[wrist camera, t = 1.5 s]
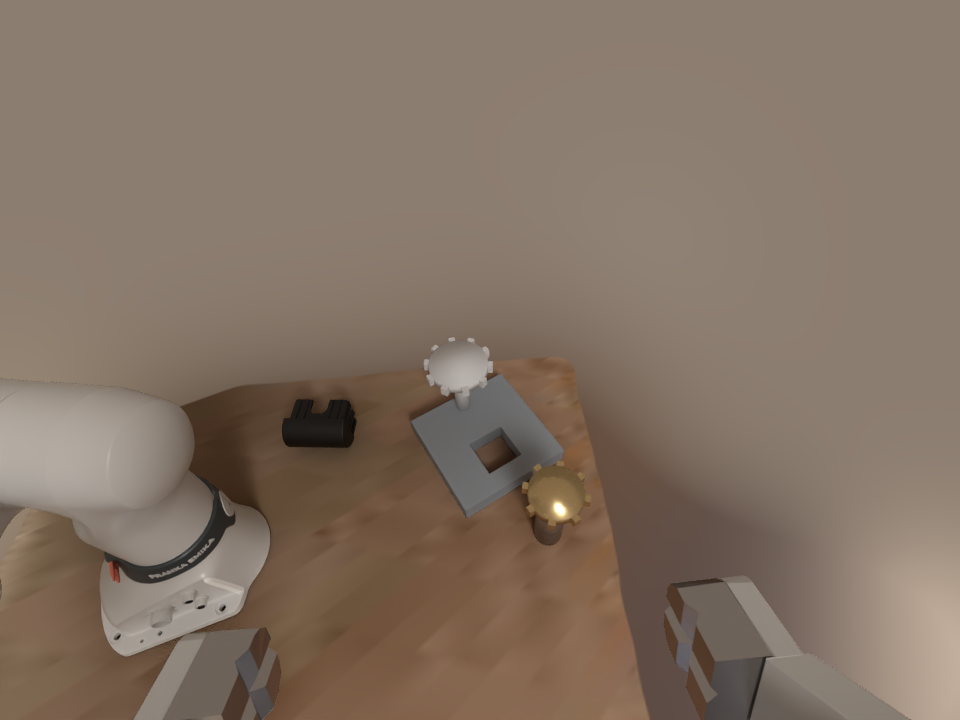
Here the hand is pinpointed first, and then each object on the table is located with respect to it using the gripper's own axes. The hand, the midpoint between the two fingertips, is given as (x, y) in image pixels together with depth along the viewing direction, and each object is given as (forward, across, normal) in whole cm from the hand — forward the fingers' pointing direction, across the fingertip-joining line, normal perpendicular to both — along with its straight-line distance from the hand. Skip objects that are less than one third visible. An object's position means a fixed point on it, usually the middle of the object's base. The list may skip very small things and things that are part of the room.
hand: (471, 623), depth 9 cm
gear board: (+60, +1, -35) cm, 69 cm away
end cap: (+62, -25, -34) cm, 75 cm away
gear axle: (+45, +9, -43) cm, 63 cm away
